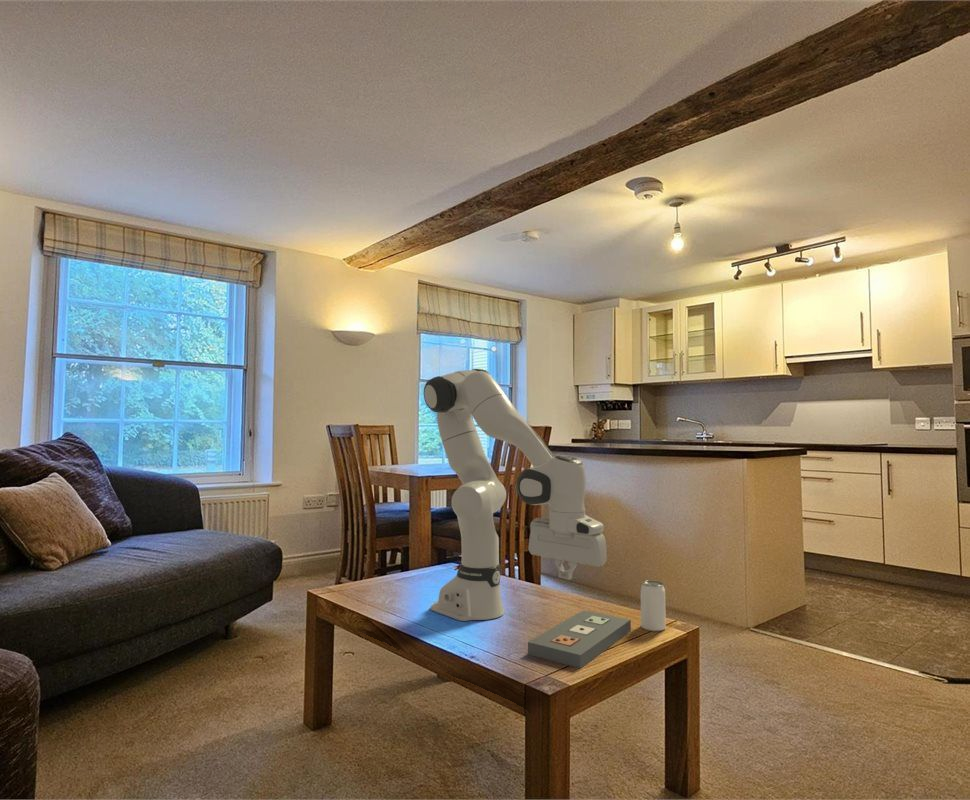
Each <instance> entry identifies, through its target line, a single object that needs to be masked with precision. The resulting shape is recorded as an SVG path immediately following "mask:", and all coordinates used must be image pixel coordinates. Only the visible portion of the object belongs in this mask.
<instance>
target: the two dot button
mask: <svg viewBox="0 0 970 800" xmlns="http://www.w3.org/2000/svg"><path fill="white" fill-rule="evenodd" d="M609 621H610V619H606V618H601V617H596V616H591V617H590V618H588V619H586V620H585V621H584V622H588V623H592V624H597V625H602V626H603V625H604V624H606V623H607V622H609Z"/></svg>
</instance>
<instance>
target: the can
mask: <svg viewBox="0 0 970 800" xmlns="http://www.w3.org/2000/svg"><path fill="white" fill-rule="evenodd" d="M666 623H667V621H666V589H665V587H664V583H663V582H660V581H657V580H644V581H642V582H641V587H640V626H641V628H642V629H644V630H645V631H648V630H649V632H662V631H665V629H666Z"/></svg>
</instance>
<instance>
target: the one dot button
mask: <svg viewBox="0 0 970 800" xmlns="http://www.w3.org/2000/svg"><path fill="white" fill-rule="evenodd" d="M594 631H595V628H590V627H585V626H581V625H577V626H575V627H573V628H572V629H570V630H569V632H573V633H578V634H582V635H586V636H588V635H589V634H591V633H592V632H594Z"/></svg>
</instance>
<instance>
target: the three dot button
mask: <svg viewBox="0 0 970 800" xmlns="http://www.w3.org/2000/svg"><path fill="white" fill-rule="evenodd" d="M578 641H579V639H577V638H573V637H569V636H564V635H560V636H558V637H557V638H555V639H553V640H552V641H551V642H553V643H557V644H561V645H565V646H569V647H571V646H572V645H574V644H575V643H577V642H578Z"/></svg>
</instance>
